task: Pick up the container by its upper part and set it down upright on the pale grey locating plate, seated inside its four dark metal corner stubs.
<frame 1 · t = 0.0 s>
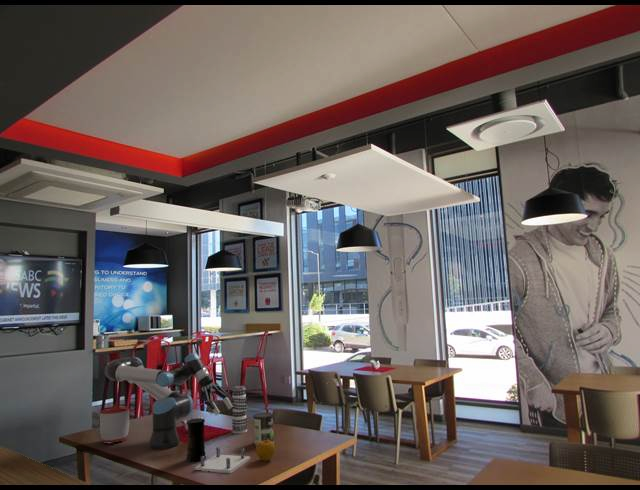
hand: (224, 411, 251), 15 cm above the table, tool tilted 35°, fingers open, 13 cm apart
citrus juicer: (114, 441, 259), on the table
container: (196, 460, 220), on the table
apple: (265, 460, 214), on the table
locating plate: (223, 464, 211), on the table
coffee can: (264, 443, 242), on the table
decorative candle: (240, 431, 266), on the table
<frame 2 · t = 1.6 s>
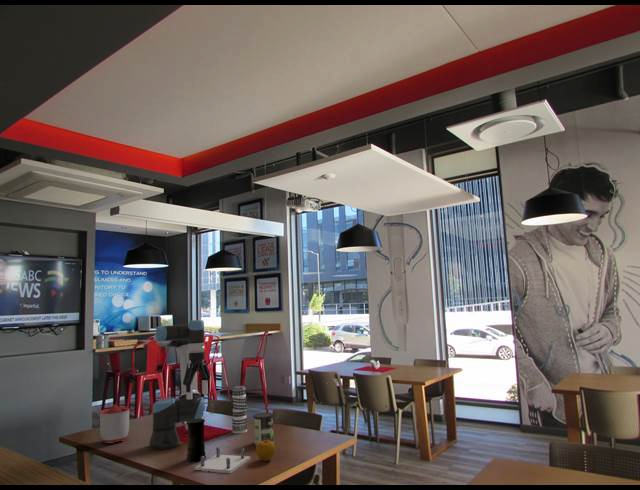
hand: (197, 396, 225), 29 cm above the table, tool pointing down, fingers open, 13 cm apart
nothing on the table moved.
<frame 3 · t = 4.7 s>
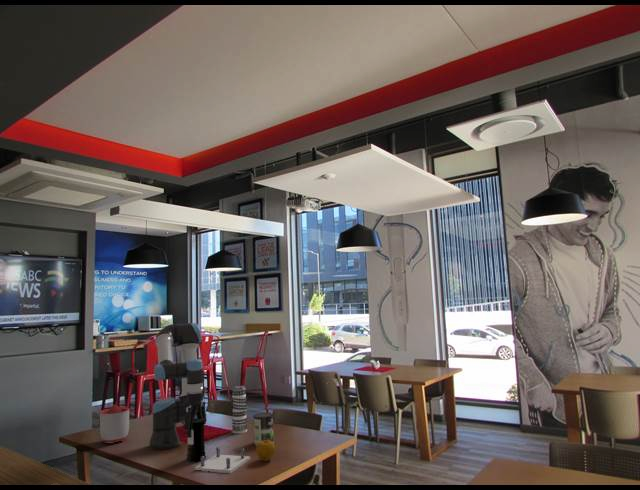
hand: (195, 441, 221), 8 cm above the table, tool pointing down, fingers closed on container, 8 cm apart
container: (196, 459, 220), on the table, touching gripper
everything else where it was.
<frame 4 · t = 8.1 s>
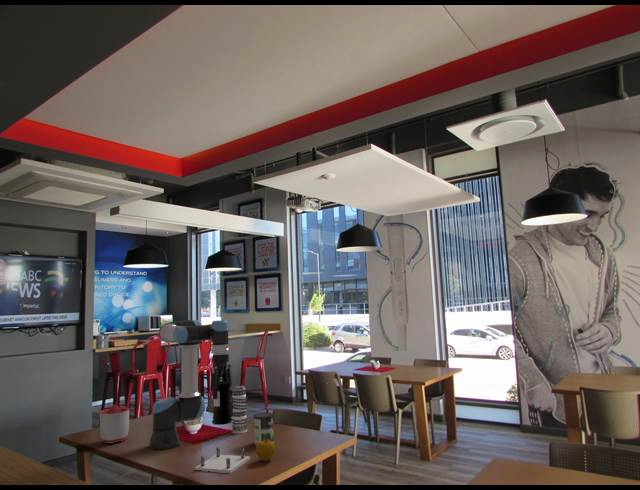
hand: (221, 404, 215), 27 cm above the table, tool pointing down, fingers closed on container, 8 cm apart
container: (222, 422, 213), point 18 cm above the table, touching gripper
everything else where it was.
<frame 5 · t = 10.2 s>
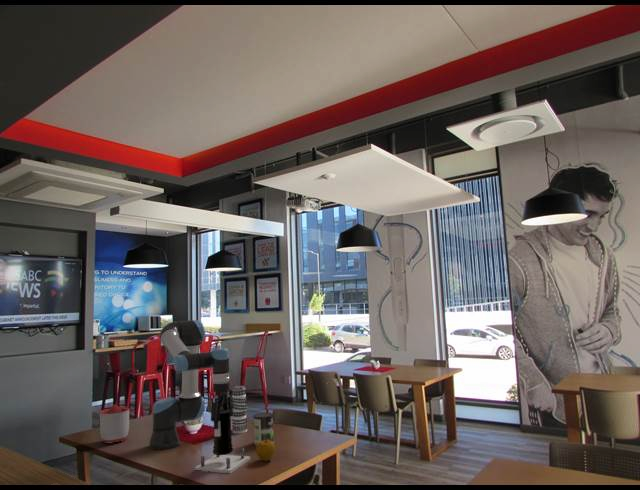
hand: (222, 433, 213), 14 cm above the table, tool pointing down, fingers closed on container, 8 cm apart
container: (222, 452, 212), point 5 cm above the table, touching gripper
everything else where it was.
when the fingers open (11 cm above the table, at t = 11.8 s): container drops 1 cm, resting on locating plate.
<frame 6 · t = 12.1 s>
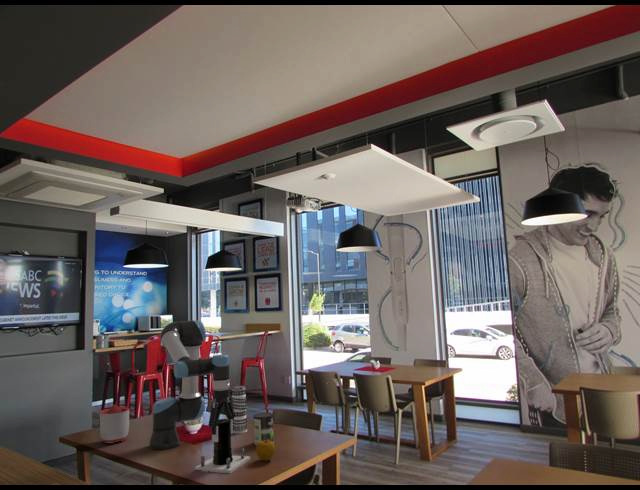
hand: (222, 437, 213), 12 cm above the table, tool pointing down, fingers open, 12 cm apart
container: (222, 462, 211), point 1 cm above the table, touching locating plate
everything else where it was.
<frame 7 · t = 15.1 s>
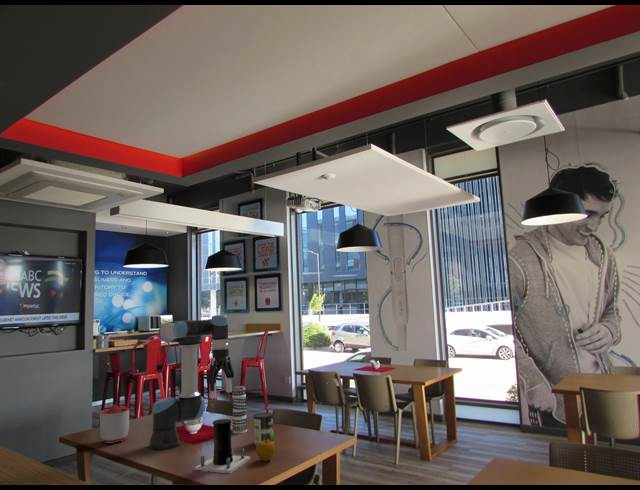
hand: (221, 395, 216), 31 cm above the table, tool pointing down, fingers open, 13 cm apart
nothing on the table moved.
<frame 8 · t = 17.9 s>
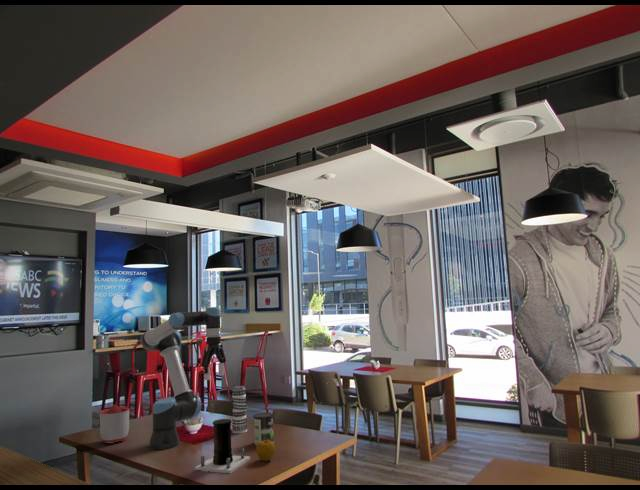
hand: (214, 377, 243), 35 cm above the table, tool pointing down, fingers open, 13 cm apart
nothing on the table moved.
at the end: container 0.1 cm off-centre on the locating plate, point 1.0 cm above the locating plate's base; container tilted 0°; the gripper is holding nothing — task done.
